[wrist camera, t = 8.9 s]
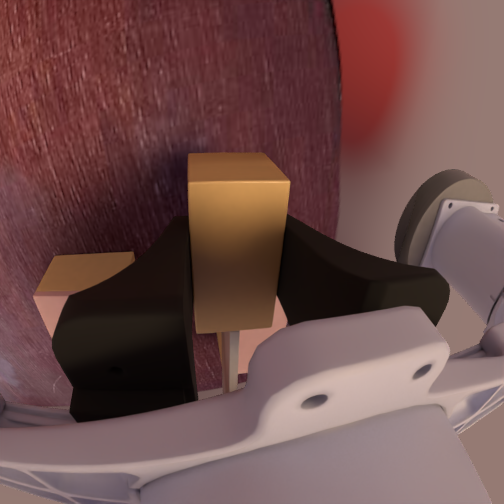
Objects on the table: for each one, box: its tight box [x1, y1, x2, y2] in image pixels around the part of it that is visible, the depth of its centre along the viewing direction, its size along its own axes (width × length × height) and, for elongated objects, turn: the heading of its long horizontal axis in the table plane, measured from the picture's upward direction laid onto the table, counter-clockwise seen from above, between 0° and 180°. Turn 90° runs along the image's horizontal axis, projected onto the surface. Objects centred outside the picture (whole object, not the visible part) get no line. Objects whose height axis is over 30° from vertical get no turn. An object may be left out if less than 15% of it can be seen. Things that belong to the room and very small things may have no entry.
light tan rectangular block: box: [217, 295, 287, 374], centre depth 21 cm, size 4×8×4 cm, turn 176°
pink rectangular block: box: [33, 252, 135, 338], centre depth 19 cm, size 6×8×4 cm
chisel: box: [188, 153, 290, 394], centre depth 14 cm, size 15×3×4 cm, turn 177°
